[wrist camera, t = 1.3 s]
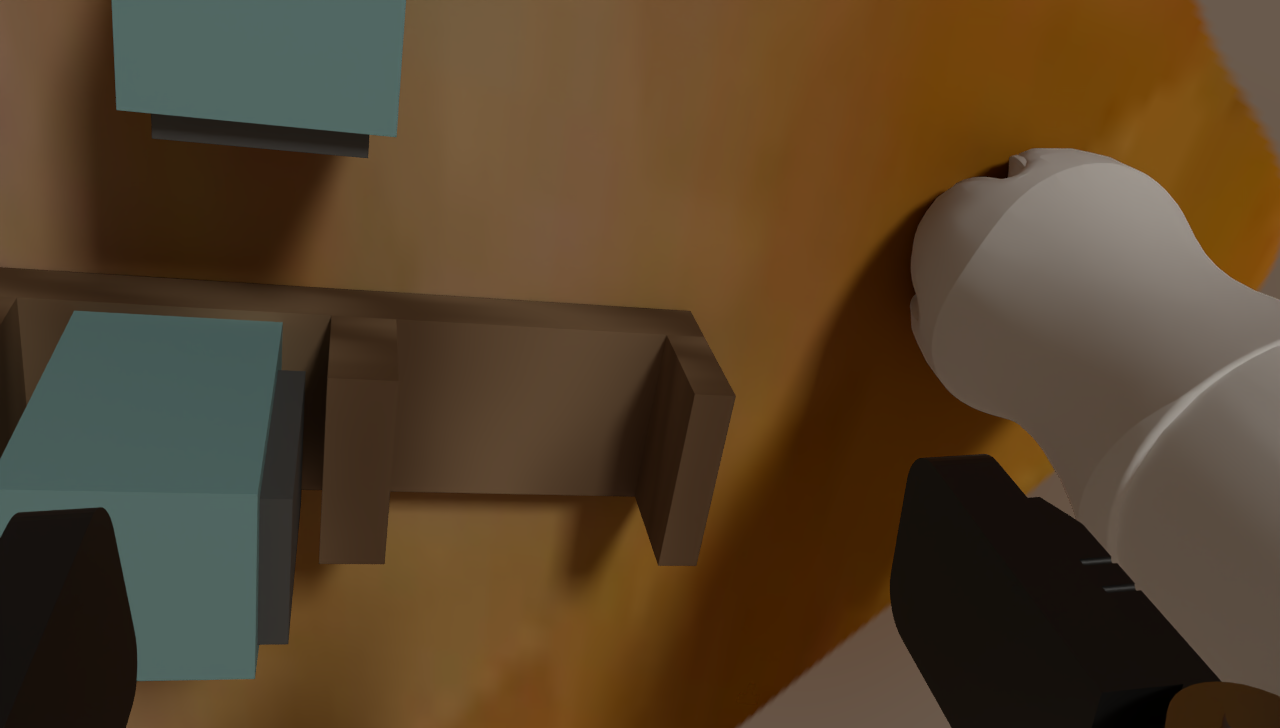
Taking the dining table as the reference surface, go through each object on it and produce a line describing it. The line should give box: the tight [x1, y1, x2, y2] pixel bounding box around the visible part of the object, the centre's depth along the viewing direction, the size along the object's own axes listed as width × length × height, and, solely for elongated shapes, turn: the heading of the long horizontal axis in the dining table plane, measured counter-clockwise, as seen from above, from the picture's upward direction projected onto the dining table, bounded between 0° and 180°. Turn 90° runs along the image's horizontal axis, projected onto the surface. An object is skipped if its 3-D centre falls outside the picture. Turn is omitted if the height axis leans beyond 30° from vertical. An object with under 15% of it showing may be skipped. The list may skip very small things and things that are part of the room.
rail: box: [0, 267, 736, 566], centre depth 28 cm, size 17×5×4 cm, turn 80°
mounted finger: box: [0, 311, 306, 681], centre depth 25 cm, size 5×4×7 cm
